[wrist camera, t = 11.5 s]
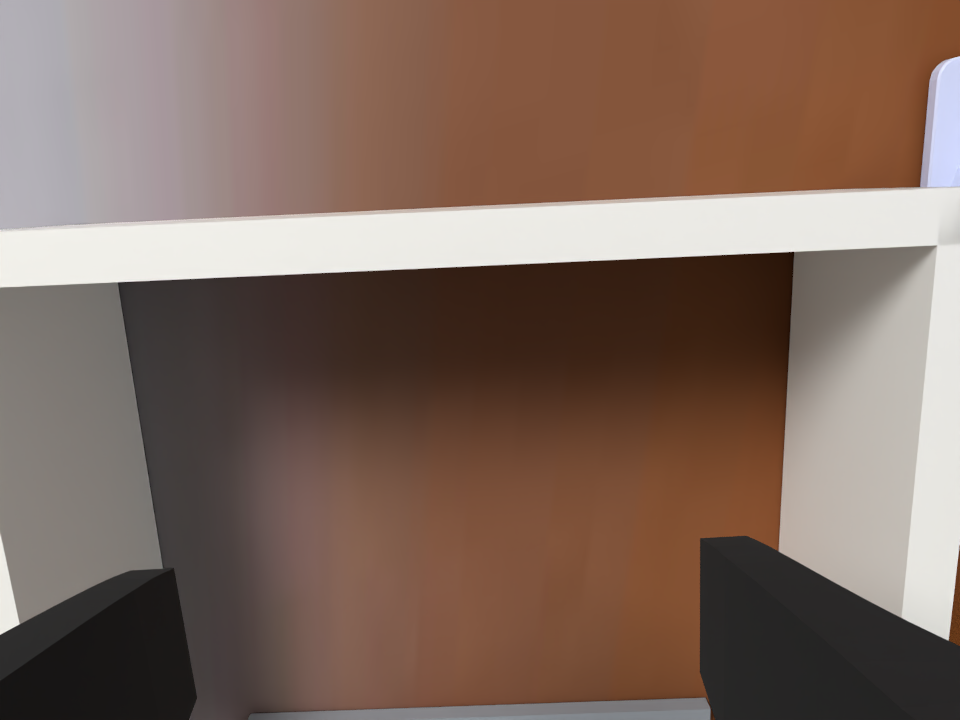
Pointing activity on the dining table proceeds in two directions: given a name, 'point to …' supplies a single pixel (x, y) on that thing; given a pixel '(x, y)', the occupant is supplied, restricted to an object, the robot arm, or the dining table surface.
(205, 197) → the dining table surface
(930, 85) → the robot arm
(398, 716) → the slate mat
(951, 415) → the open folding screen
